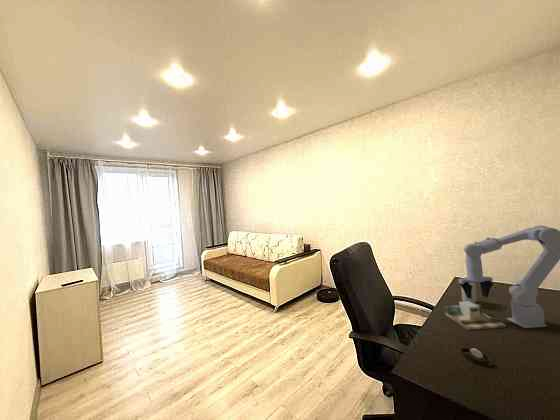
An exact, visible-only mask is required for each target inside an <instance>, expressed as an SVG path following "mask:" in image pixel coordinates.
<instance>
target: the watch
mask: <svg viewBox="0 0 560 420" xmlns="http://www.w3.org/2000/svg"><path fill="white" fill-rule="evenodd" d="M465 353H470V354H471V355H473V357H476V358H478V359H476V358H473V357H471V356H468V355H466V354H465ZM461 354H462V356H463V358H465V359H466V360H468V361H469V362H471V363H474V364H478V365H479V366H488V365H489V364H490V358H489V357H488V356H487V355H485V354H484V353H482V352H481V351H480V350H478V349H477V348H471V349H470V348H466V347H463V348H461ZM479 359H484V360H485V361H483V360H479Z"/></svg>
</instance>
